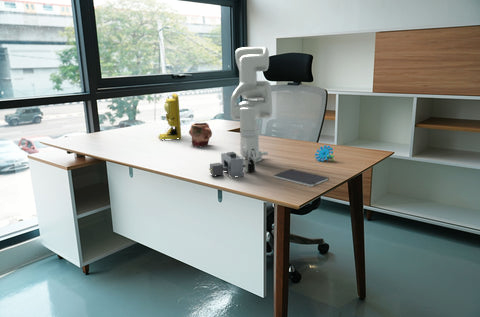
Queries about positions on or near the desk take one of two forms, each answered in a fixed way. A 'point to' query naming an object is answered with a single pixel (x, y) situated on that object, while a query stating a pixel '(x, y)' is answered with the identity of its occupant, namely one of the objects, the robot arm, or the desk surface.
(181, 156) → the desk surface
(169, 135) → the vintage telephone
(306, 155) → the desk surface
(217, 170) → the plug
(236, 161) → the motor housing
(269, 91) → the robot arm
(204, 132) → the decorative planter
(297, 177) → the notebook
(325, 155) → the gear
